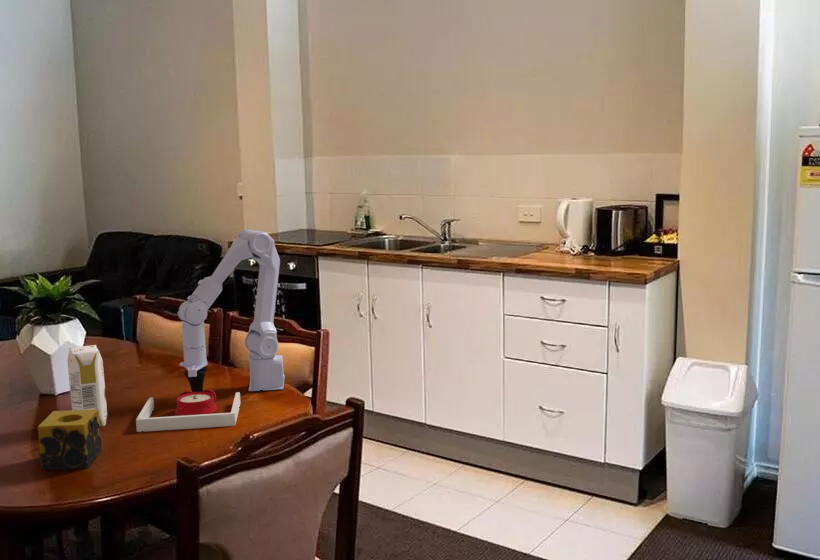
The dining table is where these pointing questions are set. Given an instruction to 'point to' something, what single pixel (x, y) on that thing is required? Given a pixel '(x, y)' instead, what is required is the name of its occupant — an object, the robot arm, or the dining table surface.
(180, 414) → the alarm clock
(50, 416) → the yellow patterned cube
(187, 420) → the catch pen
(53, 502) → the dining table surface
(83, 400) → the juice carton
